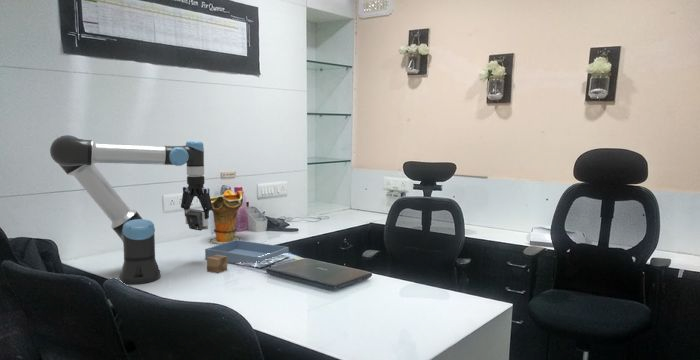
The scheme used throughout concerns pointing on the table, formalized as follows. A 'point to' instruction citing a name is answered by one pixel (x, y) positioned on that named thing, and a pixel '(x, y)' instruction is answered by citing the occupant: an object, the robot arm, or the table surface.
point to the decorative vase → (226, 215)
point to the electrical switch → (195, 219)
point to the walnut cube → (216, 263)
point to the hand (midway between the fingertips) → (196, 224)
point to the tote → (245, 251)
